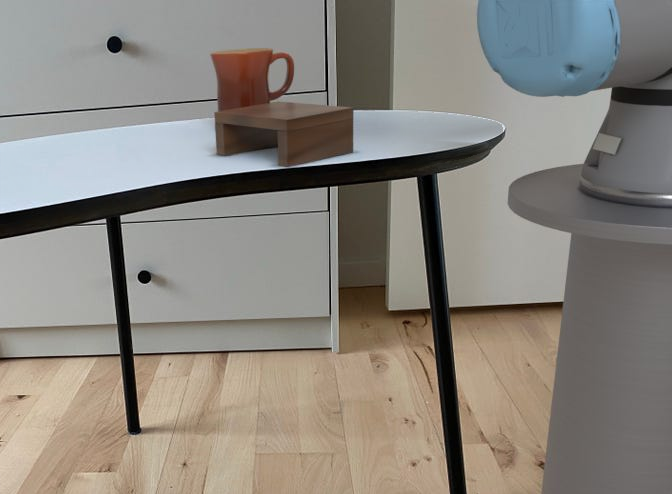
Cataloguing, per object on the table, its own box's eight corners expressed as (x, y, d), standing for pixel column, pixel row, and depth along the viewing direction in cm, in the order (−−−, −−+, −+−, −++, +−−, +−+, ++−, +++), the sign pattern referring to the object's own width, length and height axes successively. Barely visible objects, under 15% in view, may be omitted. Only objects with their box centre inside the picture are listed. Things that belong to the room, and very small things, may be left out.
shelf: (353, 152, 96) (353, 107, 94) (287, 166, 91) (286, 119, 89) (279, 142, 106) (278, 101, 104) (216, 154, 101) (214, 112, 99)
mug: (223, 133, 115) (219, 55, 111) (207, 125, 123) (203, 52, 119) (305, 124, 117) (304, 47, 113) (284, 117, 125) (282, 45, 121)
